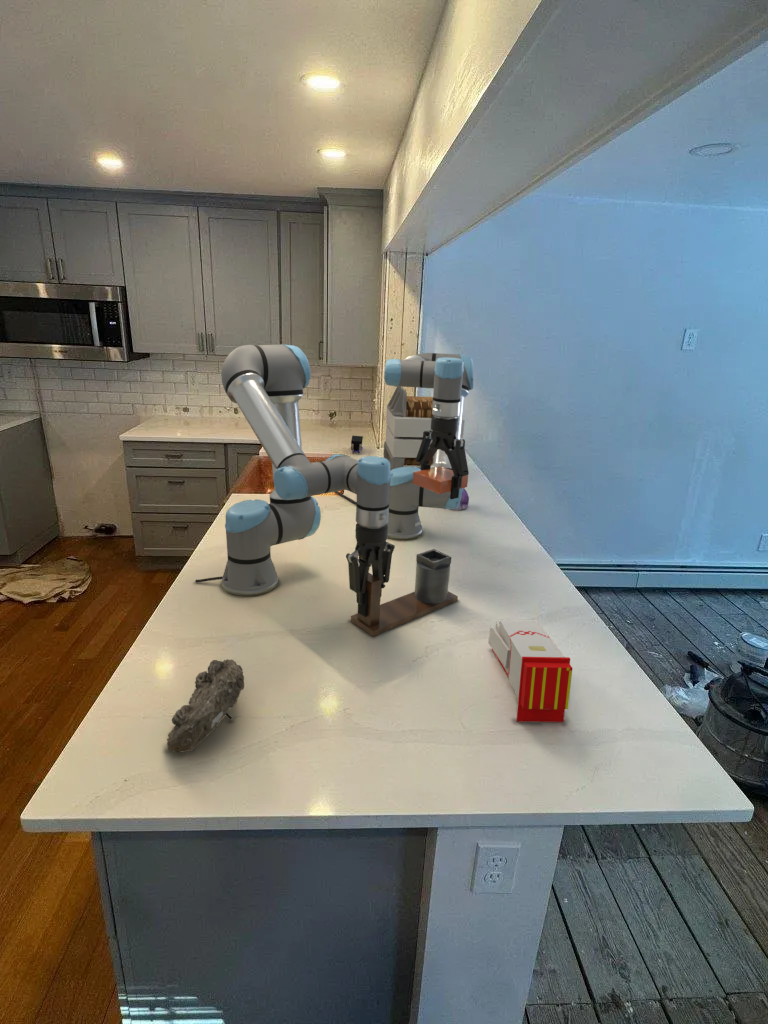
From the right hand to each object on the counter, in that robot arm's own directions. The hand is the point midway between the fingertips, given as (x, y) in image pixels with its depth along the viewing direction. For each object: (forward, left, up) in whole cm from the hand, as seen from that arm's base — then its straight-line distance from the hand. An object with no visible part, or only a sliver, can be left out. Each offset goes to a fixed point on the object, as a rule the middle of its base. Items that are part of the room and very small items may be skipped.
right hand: (439, 492), depth 162 cm
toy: (+49, -22, -26) cm, 59 cm away
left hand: (+12, -35, -22) cm, 42 cm away
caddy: (+12, -22, -26) cm, 36 cm away
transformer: (-82, +74, -26) cm, 113 cm away
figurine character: (-132, +74, -26) cm, 154 cm away
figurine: (-37, +52, -26) cm, 69 cm away
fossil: (+19, -79, -26) cm, 86 cm away
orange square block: (0, 0, +1) cm, 1 cm away
